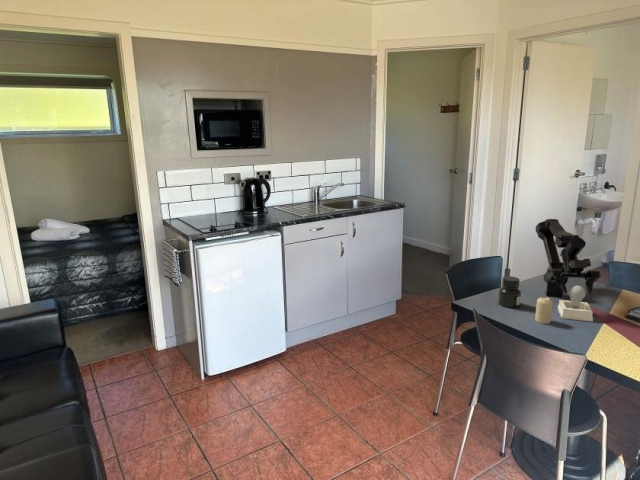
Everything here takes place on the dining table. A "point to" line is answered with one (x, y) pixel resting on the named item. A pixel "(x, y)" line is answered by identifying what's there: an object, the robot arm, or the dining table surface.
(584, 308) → the socket
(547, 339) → the dining table surface
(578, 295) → the lightbulb
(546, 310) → the candle
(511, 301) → the ink bottle
